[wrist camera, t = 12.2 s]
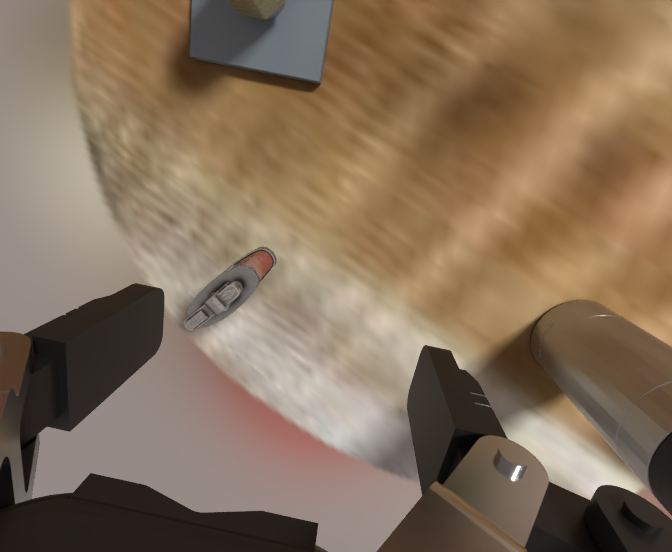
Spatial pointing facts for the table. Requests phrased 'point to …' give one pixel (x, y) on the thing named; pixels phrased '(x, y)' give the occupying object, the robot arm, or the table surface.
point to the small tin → (230, 289)
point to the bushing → (256, 7)
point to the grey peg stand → (263, 38)
